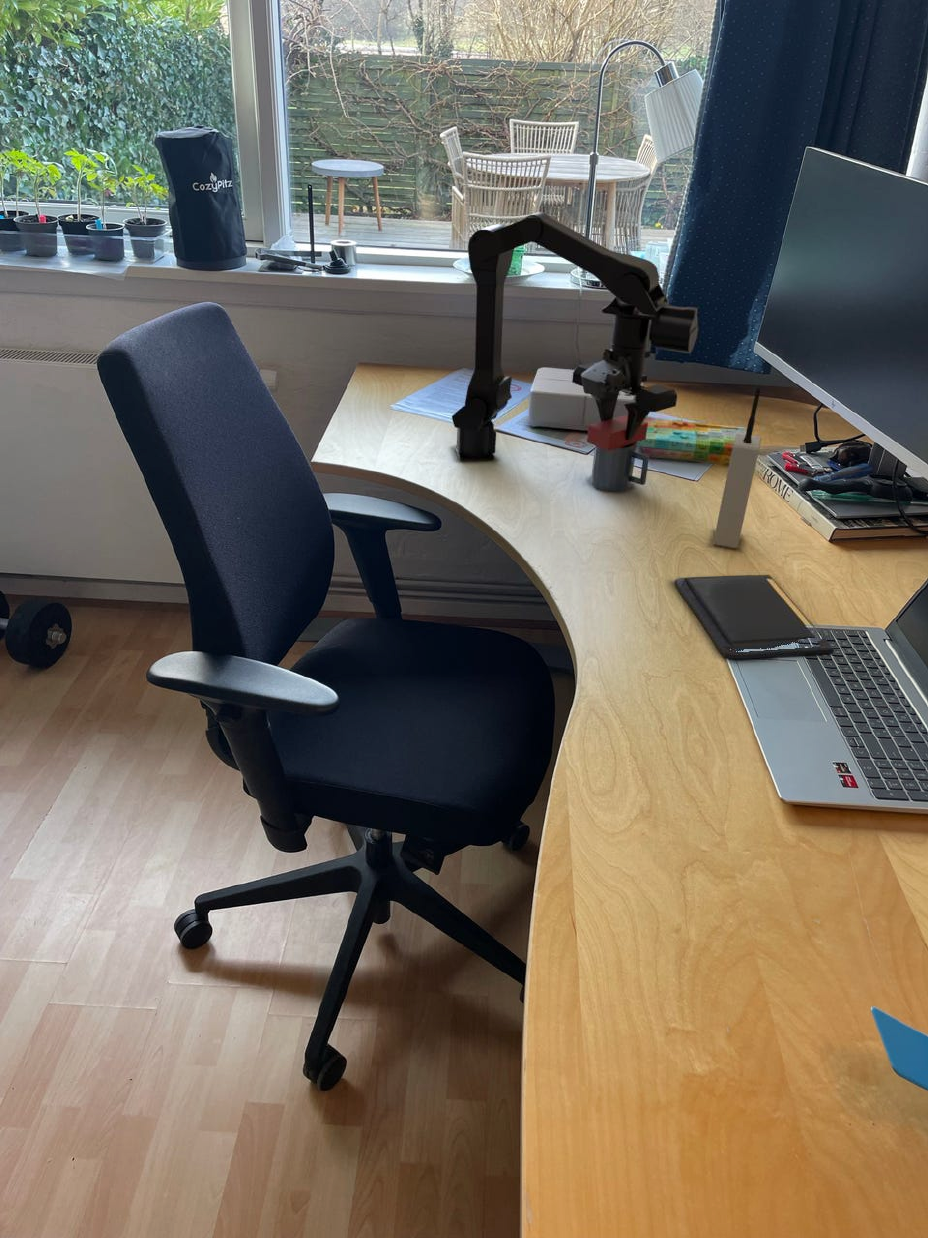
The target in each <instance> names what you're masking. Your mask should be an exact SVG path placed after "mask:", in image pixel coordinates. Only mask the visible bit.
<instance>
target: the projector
mask: <svg viewBox="0 0 928 1238" xmlns="http://www.w3.org/2000/svg"><path fill="white" fill-rule="evenodd" d="M574 370H575V369H569V368H567V369H566V368H558V367H557V368H556V367H555V368H554V367H539V368H538V369H537V371H536V374H535V377H534V379H533V382H532V384H531V387H530V390H529V391H530V392H529V401H528V403H529V405H528V417H527V418H528V424H529V425H530V426H531V428H537V427H545V428H553V429H565V430H567V429H568V430H574V431H575V430H576V431H577V430H578V431H584V432H588V426H589V425H592V424H595V423H599V422H601V419H600V415H599V411H598V407H597V404H596V400H595V399H594V398H593V397H592V396H591V395H590V394H586V393H584V390H583V386H580V385H578V384H575V383H572V379H573V372H574ZM644 383H645V382H643V383H641V386H644ZM633 399H634V396H633V395H630V394H627V393H625V392H622V391H619V394H618V398H617V402H616V406H615V410H614V414H613V418H616V417H620V416H624V415H628V410H627V409H626V407H625V405H624V404H628V403H631V402H633ZM613 418H612V419H613Z"/></svg>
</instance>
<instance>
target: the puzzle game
mask: <svg viewBox="0 0 928 1238" xmlns="http://www.w3.org/2000/svg"><path fill="white" fill-rule="evenodd" d="M644 422H647V423H648V427H647V433H646V439H645V440H642V441H640V448H641V449H642V451H643V454H644V455H648V456H649V458H657V459H666V460H668V459H669V460H678V461H688V462H698V463H707V464H708V463H709V464H719V465H725V464H727V463H729V462H730V458H731V453H732V448H733V444H734V440H735V436H736V434H737V433H738V434H745V435H746V431H747V427H743V426H733V425H726V424H725V425H724V424H715V423H704V422H695V421H686V420H683V419H680V418H677V419H667V418H658V417H648V416H646V418H645V419H644Z"/></svg>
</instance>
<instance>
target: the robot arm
mask: <svg viewBox="0 0 928 1238" xmlns="http://www.w3.org/2000/svg"><path fill="white" fill-rule="evenodd" d="M529 243H535V244H537V245H538V246H540V247H542V248H544V249H546V251H547V250H548V251H549V252H551V253H553V254H555V255H557V256H558V257H560V258H562V259H564V260H565V261H567V262H568V263H571V264H573V265H575V266H576V267H578V268H580V269H581V270H584V271H585V272H587V273H589V274H590V275H593V276H594V277H595V278H596V279H597V280H599V282H600V283H601V284H602V285H603V286H604V288H605V289H606V290H607V291H609V292H610V293H611V294H612V295H613V296H615V297H613V298H612V299H611V301H610V302H609V303H608V304H607V305H606V306H604V307H603V308H602V310H601V313H603V314H607V315H612V316H613V315H614V316H613V325H612V331H611V332H612V334H611V342H610V347H608V348H605V349H604V352H603V356H602V359H601V361H599V362H598V361H593V362H589V363H584V364H579V365H577V366H576V367H575V369H573V370H574V372H573V379H572V383H575V384H578V385H580V386H583V390H584V393H586V394H590V395H591V396H592V397H593V398H594V399H595V400H596V404H597V407H598V411H599V415H600V419H601V422H602V421H606V420H609V419H612V418H613V414H614V410H615V406H616V402H617V398H618V394H619V391H622V392H625V393H627V394H630V395H633V396H634V399H633V402H631V403H628V404H624V405H625V407H626V409H627V410H628V419H627V427H626V440H631V439H632V438H633V436H634V435H635V433H636V432H637V430H638V428H639V427H640V425H641V424H642V422H643V421H644V419H645V418H646V417H648V415H649V414H650V413H658V412H660V411H665V410H668V409H671V408H675V407H676V406H677V402H678V393H677V391H676V390H675V388H672V387H669V386H666V385H663V384H660V383H656V384H652V385H647V386H644V385H643V386H641V383H643V382H644V383H646V382H647V380H648V375H647V374H644V366H645V359H647V358H651V352H652V350H650V349H647V344H648V339H649V341H650V344H651V345H653V346H654V348H655V349H657V350H664V351H670V352H677V353H683V354H684V353H685V354H692V352H693V351H694V348H695V344H696V341H697V337H698V332H699V326H698V308H697V307H692V306H687V307H683V306H675V305H669V304H670V302H669V300H668V298H667V296H666V294H665V292H664V289H662V286H661V284H660V282H659V281H660V274H659V271H658V268H657V266H656V265H655V263H653V262H652V261H650V260H648V259H645V258H642V257H639V256H636V255H633V254H629V253H623V252H617V251H614V250H611V249H608V248H606V247H605V246H603V245H602V244H600V243H598V242H596V241H594V240H592V239H590V238H588V237H587V236H585V235H583V234H582V233H579V232H578V231H577V230H576V231H575V230H574V229H572V228H570V227H568V226H566V225H565V224H563V223H561V222H559V221H558V220H555V219H553V218H552V217H551V216H550V215H549V214H547V213H546V212H543V211H538V212H537V211H536V212H535V213H532V214H529V215H527V216H526V217H524V218H523V219H521V220H518V221H516V222H514V223H511V224H509V225H506V226H505V225H503V224H500V223H499V224H498V223H497V224H492V225H490V226H486V227H484V228H481V229H478V230H476V231H475V232H474V233H473V234H472V235H471V236H470V237H469V238H468V241H467V255H468V261H469V262H468V263H469V270H470V272H471V275H472V277H473V280H474V282H475V284H476V292H475V293H476V294H475V297H476V298H475V332H474V333H475V335H474V336H475V337H474V339H475V341H474V369H473V371H472V375H471V377H470V380H469V382H468V385H467V388H466V394H465V399H464V405H463V406H462V407H461V408H460V409H459V410H457V411H456V412H455V413H453V414H452V415H451V419H452V423H453V425H454V428H456V444H455V445H454V450H455V453H456V455H457V457H458V460H459V461H461V462H462V461H463V462H465V461H493V460H495V456H494V454H495V453H496V448H497V447H496V445H497V444H496V443H497V431H496V429H495V428H494V427H495V424H494V422H493V420H495V419H496V418H497V416H498V415H499V413H500V412H501V411H503V410H504V409H505V408H506V407H507V405H508V403H509V401H510V400H511V399H512V398H513V396H512V393H511V386H512V381H513V377H512V376H510V375H507V376H505V374H504V372H503V369H502V348H503V347H502V344H503V343H502V342H503V319H504V317H503V316H504V296H505V295H504V293H505V291H504V290H505V282H506V279H507V277H508V274H509V272H510V268H511V266H512V263H513V257H514V252H515V249H517V248H519V247H522V246H524V245H527V244H529Z"/></svg>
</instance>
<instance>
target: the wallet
mask: <svg viewBox="0 0 928 1238" xmlns="http://www.w3.org/2000/svg"><path fill="white" fill-rule="evenodd" d="M673 584H674V585H675V587H676V589H677V591H678V592H679V594H680V595H681V596H682V599H684V601H685V602H686V604H687V605H688V606H689V608H690V609H691V611H692V612H693V613H694V615H695V616H696V618H697V619H698V621H699V622H700V624H701V625H702V628H704V629H705V631H706V633H707V635H708V636H709V637H710V639H711V641H712V642H713V644H714V645H715V647H716V648H717V650H718V652H719V653H720V654H721V656H723V657H725V658H727V659H731V660H732V659H733V660H746V659H747V660H748V659H749V660H750V659H761V658H777V657H792V656H793V657H794V656H795V657H796V656H811V655H813V656H814V655H826V654H827V655H829V654H833V653H834V648H833V646H832V645H831V644H830V643H829V642H828V640H827V639H826V638H825V637H824V635H822V634H821V632H819V630H818V629H817V628H816V627H815V626H814V624H813V623H812V622H811V621H810V620H809V619H808V618H807V617H806V615H805V614H804V613H803V612H802V611H801V610H800V609H799V607H798V606H797V604H795V603H794V602H793V600H792V599H791V598H790V597H789V596H788V595H787V594H786V592H785V591H784V590H783V589H782V588H781V587H780V585H779V584H778V583H777V582H776V581H775V580H774V579H773V577H772V576H771V575H770V574H741V575H716V576H715V575H713V576H712V575H711V576H709V575H708V576H687V577H679V578H676V579H674V583H673ZM806 625H812V626H813V628H814V629H815V630H816V631H817V632H818V633H819V635H820V636H821V637H822V639H821V640H820V641H818V643H819V645H820V647H812V648H795V649H778V650H764V651H749V652H738V651H741V650H742V651H743V650H744V649H760V648H761V649H767V648H768V649H769V648H770V649H771V648H775V647H777V646H778V647H779V646H781V645H787V644H788V645H789V644H791V643H792V642H793V643H794V642H795V643H798V640H799V639H807V638H815V636H814V635H813V634H812V633H811V631H810V630H809V629H808V628H807V627H806ZM801 642H802V641H801ZM799 643H800V641H799ZM730 649H731V650H730ZM736 651H737V652H736Z"/></svg>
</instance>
